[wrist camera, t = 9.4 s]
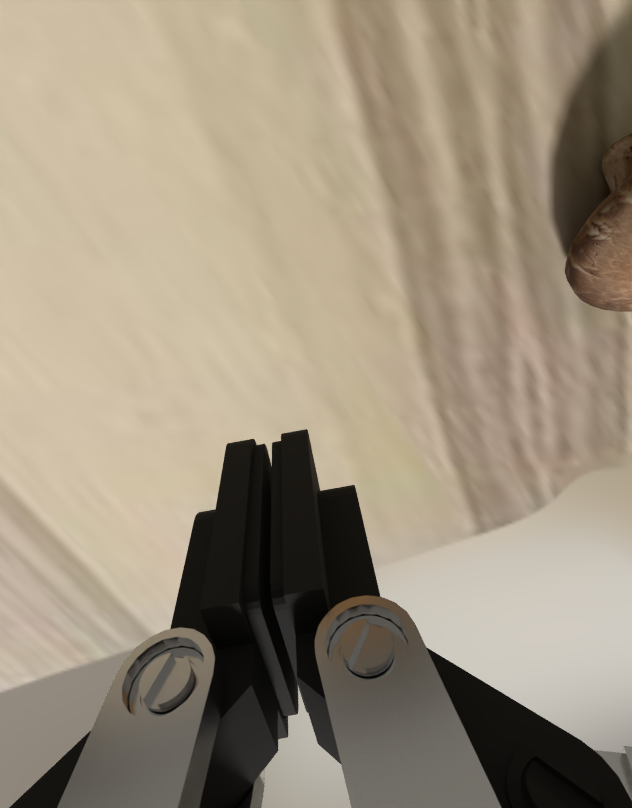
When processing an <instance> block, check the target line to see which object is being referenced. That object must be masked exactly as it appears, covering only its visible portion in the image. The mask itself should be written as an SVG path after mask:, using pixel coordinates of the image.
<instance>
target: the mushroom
mask: <svg viewBox="0 0 632 808" xmlns="http://www.w3.org/2000/svg"><path fill="white" fill-rule="evenodd" d="M602 171H603V174H604V176H605V178H606V181H607V183H608V185H609V188H610V191H611V194H610V195H609V196H608V197H607V198H606V199H605V200H604V201H603V202H601V203H600V204H599V206H598V207H597V208H596V209H595V210H594V212H593V213H592V214H591V216H590V217H589V218H588V220H587V221H586V223H585V224H584V225H583V227H582V228H581V229H580V231H579V232H578V233H577V235H576V236H575V237H574V239H573V241H572V244H571V247H570V251H569V254H568V257H567V261H566V266H565V274H566V278H567V281H568V282H569V284H570V286H571V287H572V289H573V291H574V293H575V294H576V295H577V296H578V297H579V298H580V299H581V300H582V301H584V302H586V303H587V304H589V305H591V306H594V307H597V308H600V309H604V310H611V311H632V134H630V135H628V136H626V137H624V138H623V139H621V140H620V141H618V142H617V143H615V144H613V145H612V146H611V147H610V149H609V150H608V151H607V152H606V154H605V155H604V156H603V158H602Z"/></svg>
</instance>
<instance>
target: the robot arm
mask: <svg viewBox="0 0 632 808" xmlns="http://www.w3.org/2000/svg"><path fill="white" fill-rule="evenodd" d="M298 686H299V690H300V693H301V696H302V699H303V702H304V705H305V709H306V711H307V712H308V713H309V716H310V719H311V723H312V726H313V729H314V732H315V735H316V738H317V742H318V744H319V745H320V746H321V747H322V748H323V749H325V750H326V751H327V752H328V753H329V754H330V755H331V756H332V757H333V758H335V759H336V760H337V761H338V762H339V763H340V764H341V765H342V769H343V773H344V778H345V782H346V786H347V790H348V794H349V799H350V802H351V807H352V808H632V747H627V746H624V747H623V750H622V753H616V752H604V751H595V750H593V749H591V748H590V747H588V746H587V745H586V744H585V743H583V742H582V741H581V740H579V739H578V738H576V737H574V736H573V735H571V734H569V733H567V732H566V731H564V730H563V729H561V728H559V727H558V726H556V725H554V724H553V723H551V722H549V721H548V720H546V719H544V718H543V717H541V716H539V715H537V714H536V713H534V712H533V711H531V710H529V709H528V708H526V707H524V706H523V705H521V704H519V703H518V702H516V701H514V700H513V699H511V698H509V697H508V696H506V695H504V694H503V693H501V692H499V691H498V690H496V689H494V688H493V687H491V686H490V685H488V684H486V683H484V682H483V681H481V680H480V679H478V678H476V677H474V676H473V675H471V674H469V673H468V672H466V671H465V670H463V669H461V668H460V667H458V666H456V665H455V664H453V663H451V662H450V661H448V660H446V659H445V658H443V657H441V656H440V655H438V654H436V653H435V652H433V651H431V650H430V649H428V648H426V646H425V644H424V642H423V640H422V638H421V636H420V633H419V631H418V629H417V627H416V625H415V623H414V622H413V620H412V619H411V617H410V616H409V614H408V613H407V612H406V611H405V610H404V609H403V608H401V607H400V606H399V605H397V604H396V603H395V602H392V601H390V600H388V599H385V598H382V597H380V593H379V589H378V585H377V580H376V576H375V572H374V567H373V563H372V558H371V554H370V550H369V545H368V541H367V537H366V532H365V528H364V524H363V519H362V515H361V511H360V506H359V502H358V497H357V493H356V489H355V486H354V485H351V486H346V487H340V488H334V489H329V490H323V491H320V488H319V483H318V478H317V473H316V468H315V463H314V458H313V454H312V449H311V444H310V439H309V434H308V430H307V429H306V430H300V431H295V432H289V433H284V434H281V441H278V442H273V443H272V466H271V463H270V459H269V455H268V451H267V448H266V445H265V444H261V445H256V442H255V440H254V439H250V440H245V441H239V442H233V443H228V444H227V446H226V451H225V457H224V463H223V469H222V475H221V481H220V487H219V493H218V499H217V505H216V510H210V511H204V512H199V513H198V514H197V515H196V517H195V520H194V524H193V529H192V533H191V538H190V542H189V547H188V551H187V556H186V561H185V565H184V570H183V574H182V579H181V583H180V588H179V592H178V597H177V602H176V606H175V611H174V615H173V620H172V624H171V629H169V630H165V631H162V632H160V633H158V634H156V635H154V636H151V637H150V638H148V639H147V640H146V641H144V642H143V643H142V644H140V645H139V646H137V647H136V648H135V649H134V651H133V652H132V653H131V654H130V655H129V656H128V657H127V658H126V659H125V660H124V662H123V664H122V666H121V667H120V669H119V671H118V672H117V674H116V676H115V678H114V680H113V682H112V685H111V687H110V690H109V692H108V694H107V696H106V698H105V701H104V703H103V705H102V707H101V710H100V712H99V714H98V716H97V719H96V721H95V723H94V726H93V728H92V730H91V731H90V732H89V733H88V734H87V735H86V736H85V737H83V738H82V739H81V740H80V741H79V742H78V743H77V744H76V745H75V746H74V747H73V748H72V749H71V750H70V751H69V752H68V753H67V754H66V755H64V756H63V757H62V758H61V759H60V760H59V761H58V762H57V763H56V764H55V765H54V766H53V767H52V768H51V769H50V770H49V771H48V772H47V773H46V774H44V776H42V777H41V778H40V779H39V780H38V781H37V782H36V783H35V784H34V785H33V786H32V787H31V788H30V789H29V790H28V791H26V792H25V793H24V794H23V795H22V796H21V797H20V798H19V799H18V800H17V801H16V802H15V803H14V804H13V805H12V806H11V807H10V808H261V806H262V799H263V792H264V778H265V777H264V776H265V769H264V768H265V767H266V766H267V764H268V763H269V762H270V761H271V759H272V758H273V757H274V755H275V754H276V753H277V751H278V739H280V738H286V737H288V716H290V715H295V714H298Z"/></svg>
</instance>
